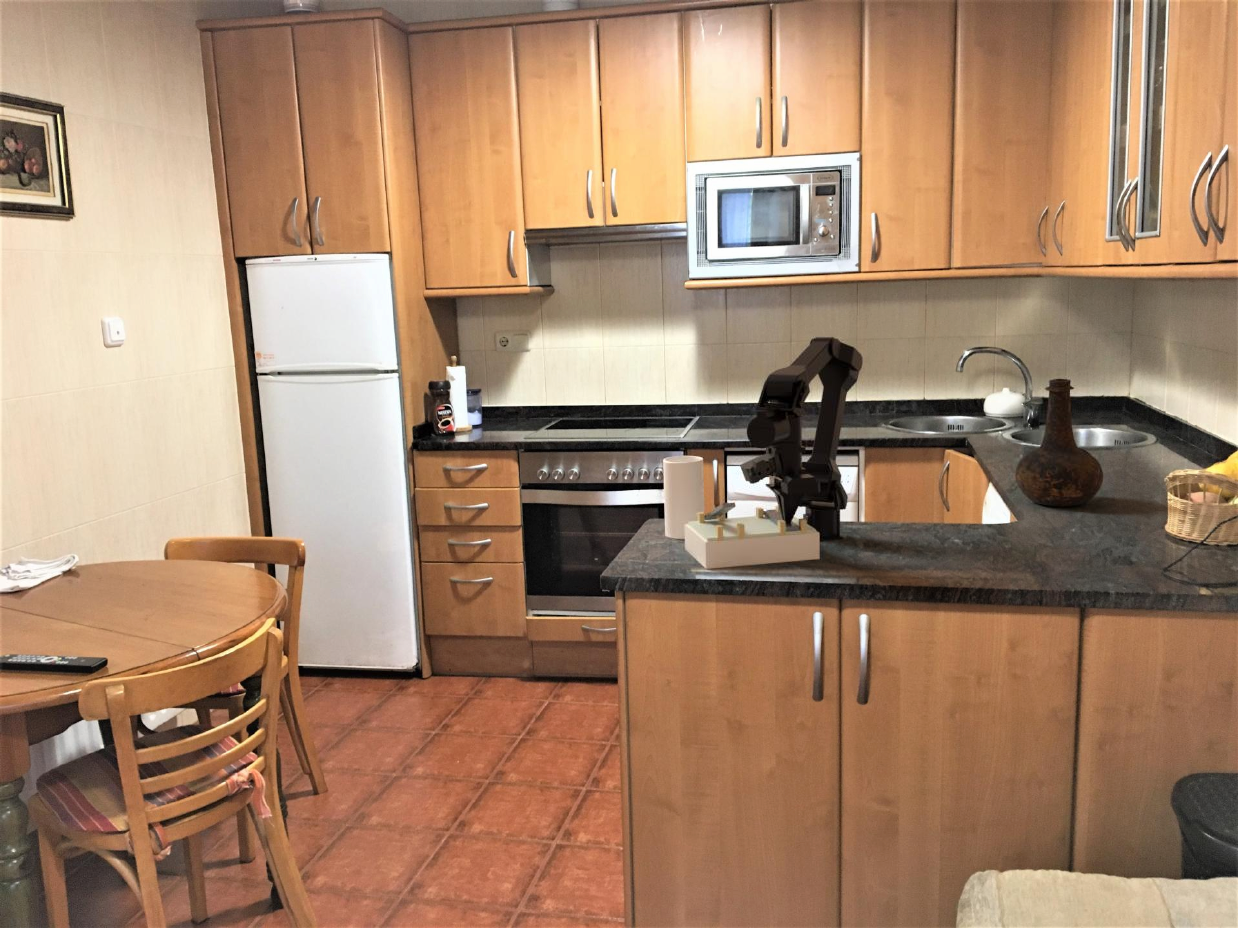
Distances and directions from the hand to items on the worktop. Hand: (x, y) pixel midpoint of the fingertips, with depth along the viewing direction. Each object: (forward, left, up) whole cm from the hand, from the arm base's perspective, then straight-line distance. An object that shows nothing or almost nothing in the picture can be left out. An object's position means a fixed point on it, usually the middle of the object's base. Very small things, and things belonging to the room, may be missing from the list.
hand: (786, 522), depth 192 cm
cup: (+14, -23, -7) cm, 28 cm away
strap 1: (+12, -4, +2) cm, 13 cm away
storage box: (+6, -4, -7) cm, 10 cm away
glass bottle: (-73, -24, -7) cm, 77 cm away
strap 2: (0, -3, -1) cm, 4 cm away
